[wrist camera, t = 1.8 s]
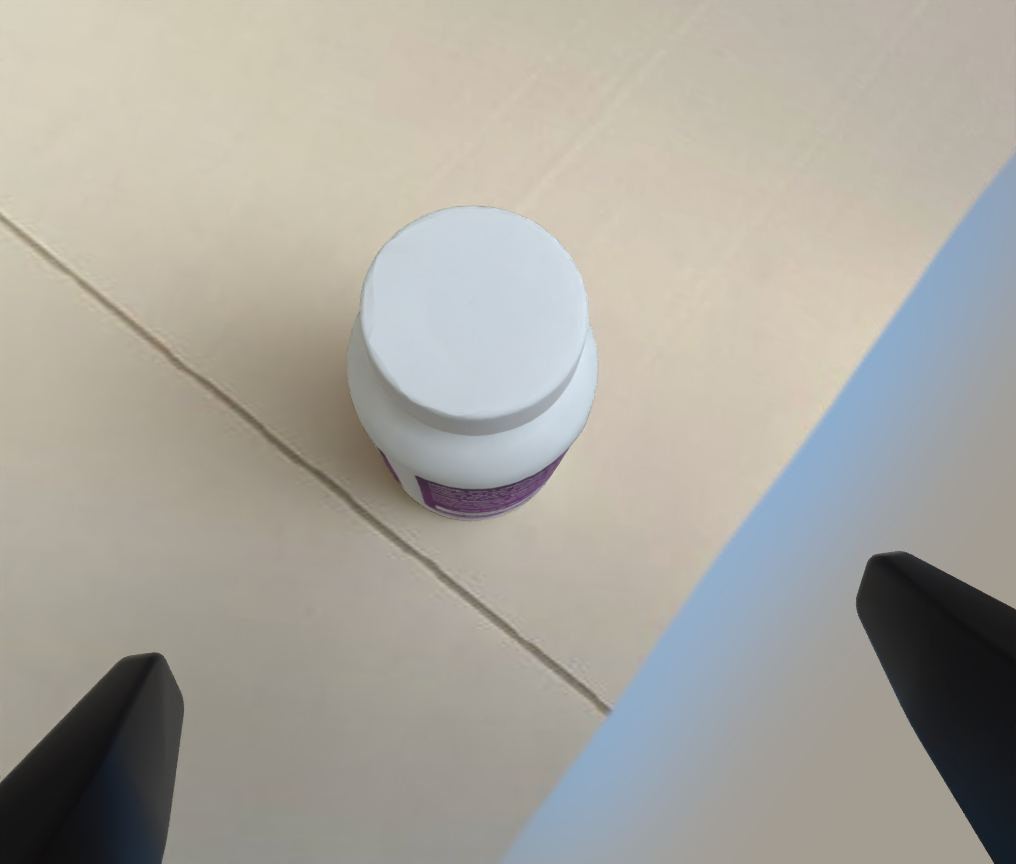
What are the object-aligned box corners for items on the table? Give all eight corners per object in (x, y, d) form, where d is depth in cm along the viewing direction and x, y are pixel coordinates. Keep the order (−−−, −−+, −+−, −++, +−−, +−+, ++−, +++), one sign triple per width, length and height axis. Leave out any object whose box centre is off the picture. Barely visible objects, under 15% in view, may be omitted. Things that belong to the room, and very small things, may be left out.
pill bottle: (589, 405, 22) (686, 261, 12) (503, 555, 20) (539, 522, 11) (440, 320, 22) (424, 117, 13) (347, 463, 21) (253, 355, 11)
